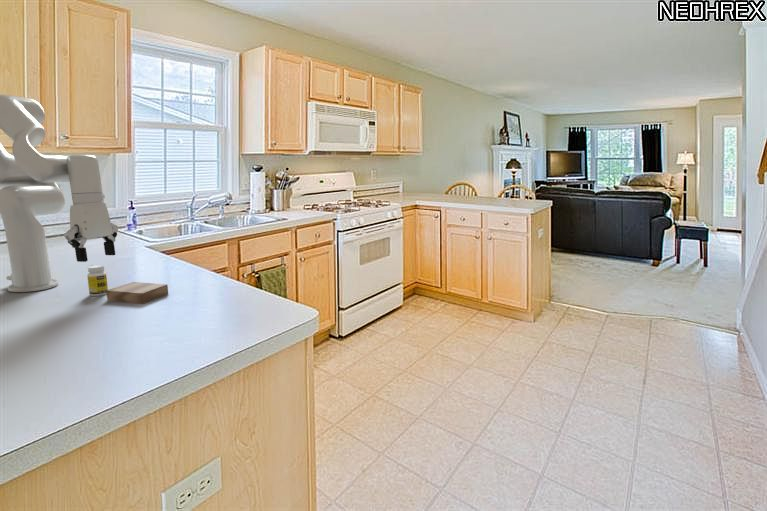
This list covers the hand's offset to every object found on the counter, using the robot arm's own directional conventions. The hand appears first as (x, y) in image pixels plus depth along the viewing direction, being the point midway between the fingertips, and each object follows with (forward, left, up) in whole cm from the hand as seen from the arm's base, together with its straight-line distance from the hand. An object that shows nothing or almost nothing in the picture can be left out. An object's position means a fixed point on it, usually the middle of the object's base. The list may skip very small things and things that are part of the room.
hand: (96, 258), depth 134 cm
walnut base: (+13, 0, -11) cm, 17 cm away
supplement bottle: (-1, 0, -11) cm, 11 cm away
